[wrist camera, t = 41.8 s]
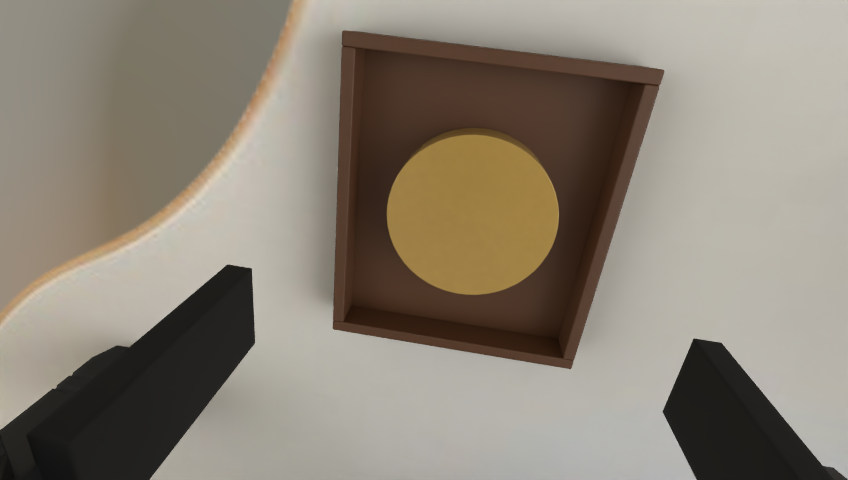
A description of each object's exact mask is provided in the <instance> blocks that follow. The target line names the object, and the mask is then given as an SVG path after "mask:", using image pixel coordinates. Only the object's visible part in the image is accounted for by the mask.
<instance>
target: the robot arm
mask: <svg viewBox="0 0 848 480" xmlns="http://www.w3.org/2000/svg"><path fill="white" fill-rule="evenodd" d="M254 344H255V331H254V309H253V287H252V268H245V267H239V266H233V265H226V266H225V267H224V268H223V269H222V270H221V271H219V272H218V273H217V274H216V275H215V276H213V277H212V278H211V279H210V280H209V281H208V282H206V283H205V284H204V285H203V286H202V287H200V288H199V289H198V290H197V291H196V292H195V293H193V294H192V295H191V296H190V297H189V298H187V299H186V300H185V301H184V302H183V303H181V304H180V305H179V306H178V307H177V308H176V309H174V310H173V311H172V312H171V313H170V314H168V315H167V316H166V317H165V318H164V319H163V320H161V321H160V322H159V323H158V324H157V325H155V326H154V327H153V328H152V329H151V330H150V331H148V332H147V333H146V334H145V335H144V336H142V337H141V338H140V339H139V340H138V341H136V342H135V343H134V344H133V345H132V346H131V347H129V348H128V347H123V346H115V347H113V348H111V349H109V350H107V351H105V352H103V353H101V354H98V355H96V356H94V357H92V358H91V359H90V360H89V361H87V362H86V363H85V364H83V365H82V366H81V367H80V368H78V369H77V370H76V371H75V372H73V375H72V376H68V377H67V378H66V379H64V380H63V381H62V382H61V383H59V384H58V385H57V388H56V389H52V390H51V391H49V392H48V393H47V394H46V395H44V396H43V397H42V398H40V399H39V400H38V401H37V402H35V403H34V404H33V405H32V406H30V407H29V408H28V409H27V410H25V411H24V412H23V413H21V414H20V415H19V416H18V417H16V418H15V419H14V420H13V421H11V422H10V423H9V424H8V425H6V426H5V427H4V428H2V429H1V430H0V480H149V479H150V478H151V477H152V476H153V474H154V473H155V472H156V470H157V469H158V468H159V466H160V465H161V464H162V463H163V461H164V460H165V459H166V457H167V456H168V455H169V454H170V452H171V451H172V450H173V448H174V447H175V446H176V444H177V443H178V442H179V441H180V439H181V438H182V437H183V435H184V434H185V433H186V432H187V430H188V429H189V428H190V426H191V425H192V424H193V422H194V421H195V420H196V419H197V417H198V416H199V415H200V413H201V412H202V411H203V410H204V408H205V407H206V406H207V404H208V403H209V402H210V400H211V399H212V398H213V397H214V395H215V394H216V393H217V391H218V390H219V389H220V388H221V386H222V385H223V384H224V382H225V381H226V380H227V378H228V377H229V376H230V375H231V373H232V372H233V371H234V369H235V368H236V367H237V366H238V364H239V363H240V362H241V360H242V359H243V358H244V356H245V355H246V354H247V353H248V351H249V350H250V349H251V347H252V346H253V345H254ZM663 413H664V415H665V417H666V419H667V421H668V423H669V425H670V427H671V429H672V431H673V433H674V435H675V437H676V439H677V441H678V443H679V445H680V447H681V449H682V451H683V453H684V455H685V457H686V459H687V461H688V463H689V465H690V467H691V469H692V471H693V473H694V475H695V477H696V479H697V480H848V479H846V478H845V477H844V476H843V475H841V474H840V473H839V472H838V471H837V470H835V469H834V468H831V467H825V466H822V465H821V463H820V462H819V461H818V460H817V458H816V457H815V456H814V455H813V454H812V452H811V451H810V450H809V449H808V448H807V446H806V445H805V444H804V443H803V441H802V440H801V439H800V438H799V437H798V435H797V434H796V433H795V432H794V431H793V429H792V428H791V427H790V426H789V424H788V423H787V422H786V421H785V420H784V418H783V417H782V416H781V415H780V414H779V412H778V411H777V410H776V409H775V407H774V406H773V405H772V404H771V403H770V401H769V400H768V399H767V398H766V397H765V395H764V394H763V393H762V392H761V390H760V389H759V388H758V387H757V386H756V384H755V383H754V382H753V381H752V380H751V378H750V377H749V376H748V375H747V373H746V372H745V371H744V370H743V369H742V367H741V366H740V365H739V364H738V363H737V361H736V360H735V359H734V358H733V356H732V355H731V354H730V353H729V352H728V350H727V349H726V348H725V347H724V346H723V344H722V343H719V342H712V341H706V340H700V339H693V342H692V344H691V346H690V349H689V351H688V353H687V356H686V358H685V360H684V363H683V365H682V368H681V370H680V372H679V375H678V377H677V379H676V382H675V384H674V386H673V389H672V391H671V393H670V396H669V398H668V400H667V403H666V405H665V407H664V410H663Z"/></svg>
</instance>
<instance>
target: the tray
mask: <svg viewBox="0 0 848 480" xmlns="http://www.w3.org/2000/svg"><path fill="white" fill-rule="evenodd" d="M663 74H664V70H661V69H655V68H649V67H642V66H634V65H625V64H617V63H609V62H601V61H593V60H585V59H576V58H568V57H560V56H552V55H544V54H536V53H528V52H519V51H511V50H503V49H495V48H487V47H479V46H471V45H462V44H454V43H446V42H438V41H430V40H422V39H414V38H405V37H397V36H389V35H381V34H373V33H365V32H357V31H343V32H342V59H341V90H340V122H339V153H338V185H337V216H336V247H335V279H334V310H333V329H335V330H341V331H347V332H353V333H359V334H365V335H371V336H376V337H382V338H388V339H394V340H400V341H406V342H412V343H418V344H424V345H430V346H436V347H442V348H448V349H454V350H460V351H466V352H472V353H478V354H484V355H490V356H496V357H502V358H508V359H514V360H520V361H526V362H532V363H538V364H544V365H550V366H556V367H562V368H568V369H571V368H572V365H573V361H574V358H575V355H576V352H577V348H578V345H579V342H580V339H581V336H582V332H583V329H584V326H585V323H586V320H587V317H588V313H589V310H590V307H591V304H592V301H593V297H594V294H595V291H596V288H597V285H598V281H599V278H600V275H601V272H602V269H603V265H604V262H605V259H606V256H607V253H608V249H609V246H610V243H611V240H612V237H613V233H614V230H615V227H616V224H617V221H618V217H619V214H620V211H621V208H622V205H623V202H624V198H625V195H626V192H627V189H628V186H629V182H630V179H631V176H632V173H633V170H634V166H635V163H636V160H637V157H638V154H639V150H640V147H641V144H642V141H643V138H644V134H645V131H646V128H647V125H648V122H649V118H650V115H651V112H652V109H653V106H654V103H655V99H656V96H657V93H658V90H659V86H658V85H660V84H661V80H662V77H663ZM463 128H484V129H490V130H495V131H499V132H501V133H504V134H507V135H509V136H511V137H513V138H515V139H516V140H518V141H520V142H521V143H522V144H524V145H525V146H526V147H528V148H529V149H530V150H531V151H532V152H533V153H534V154H535V155H536V156H537V158H538V159H539V160H540V162H541V163H542V165H543V166H544V168H545V170H546V172H547V174H548V176H549V178H550V180H551V182H552V184H553V187H554V189H555V192H556V196H557V200H558V207H559V223H558V229H557V234H556V237H555V240H554V243H553V246H552V247H551V249H550V251H549V253H548V255H547V256H546V258H545V259H544V261H543V262H542V263H541V264H540V265H539V267H538V268H537V269H536V270H535V271H534V272H533V273H531V274H530V275H529V276H528V277H527V278H525V279H524V280H522V281H520V282H519V283H517V284H515V285H513V286H511V287H509V288H507V289H504V290H501V291H498V292H493V293H489V294H480V295H466V294H458V293H453V292H449V291H445V290H443V289H440V288H437V287H435V286H433V285H431V284H429V283H427V282H426V281H424V280H423V279H421V278H420V277H418V276H417V275H416V274H415V273H414V272H412V271H411V270H410V269H409V268H408V266H407V265H406V264H405V263H404V262H403V260H402V259H401V258H400V256H399V255H398V253H397V251H396V249H395V248H394V246H393V243H392V240H391V238H390V234H389V230H388V225H387V204H388V198H389V194H390V191H391V188H392V185H393V183H394V181H395V179H396V177H397V175H398V174H399V172H400V171H401V169H402V168H403V166H404V165H405V163H406V162H407V160H408V159H409V158H410V156H411V155H412V154H413V153H414V152H415V151H416V150H417V149H418V148H419V147H421V146H422V145H423V144H424V143H426V142H427V141H429V140H431V139H432V138H434V137H436V136H438V135H440V134H443V133H446V132H449V131H452V130H457V129H463Z"/></svg>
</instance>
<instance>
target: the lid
mask: <svg viewBox="0 0 848 480" xmlns="http://www.w3.org/2000/svg"><path fill="white" fill-rule="evenodd" d="M558 223H559V207H558V200H557V196H556V192H555V189H554V187H553V184H552V182H551V180H550V178H549V176H548V174H547V172H546V170H545V168H544V166H543V165H542V163H541V162H540V160H539V159H538V158H537V156H536V155H535V154H534V153H533V152H532V151H531V150H530V149H529V148H528V147H526V146H525V145H524V144H522V143H521V142H520V141H518V140H516V139H515V138H513V137H511V136H509V135H507V134H504V133H501V132H499V131H495V130H490V129H484V128H463V129H457V130H452V131H449V132H446V133H443V134H440V135H438V136H436V137H434V138H432V139H431V140H429V141H427V142H426V143H424V144H423V145H422V146H421V147H419V148H418V149H417V150H416V151H415V152H414V153H413V154H412V155H411V156H410V158H409V159H408V160H407V162H406V163H405V165H404V166H403V168H402V169H401V171H400V172H399V174H398V175H397V177H396V179H395V181H394V183H393V185H392V188H391V191H390V194H389V198H388V204H387V225H388V230H389V234H390V238H391V240H392V243H393V246H394V248H395V249H396V251H397V253H398V255H399V256H400V258H401V259H402V260H403V262H404V263H405V264H406V265H407V266H408V268H409V269H410V270H411V271H412V272H414V273H415V274H416V275H417V276H418V277H420V278H421V279H423V280H424V281H426V282H427V283H429V284H431V285H433V286H435V287H437V288H440V289H443V290H445V291H449V292H453V293H458V294H466V295H480V294H489V293H493V292H498V291H501V290H504V289H507V288H509V287H511V286H513V285H515V284H517V283H519V282H520V281H522V280H524V279H525V278H527V277H528V276H529V275H530V274H531V273H533V272H534V271H535V270H536V269H537V268H538V267H539V265H540V264H541V263H542V262H543V261H544V259H545V258H546V256H547V255H548V253H549V251H550V249H551V247H552V246H553V243H554V240H555V237H556V234H557V229H558Z"/></svg>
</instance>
